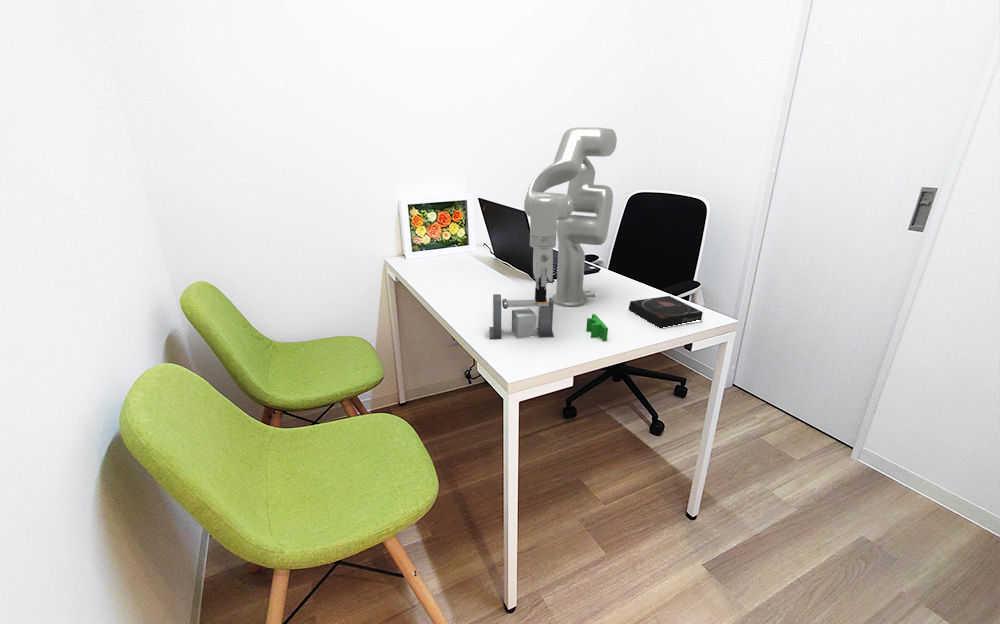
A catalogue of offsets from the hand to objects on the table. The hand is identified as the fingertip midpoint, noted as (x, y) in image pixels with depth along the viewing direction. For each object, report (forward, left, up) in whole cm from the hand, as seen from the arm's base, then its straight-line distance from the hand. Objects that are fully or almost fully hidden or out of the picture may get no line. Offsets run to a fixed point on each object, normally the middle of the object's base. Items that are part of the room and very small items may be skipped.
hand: (540, 300), depth 134 cm
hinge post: (+13, 0, -11) cm, 17 cm away
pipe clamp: (-17, 0, -11) cm, 21 cm away
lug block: (-1, 0, -11) cm, 11 cm away
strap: (+5, 0, -2) cm, 5 cm away
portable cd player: (-44, -13, -12) cm, 48 cm away
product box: (+5, 0, -11) cm, 12 cm away
